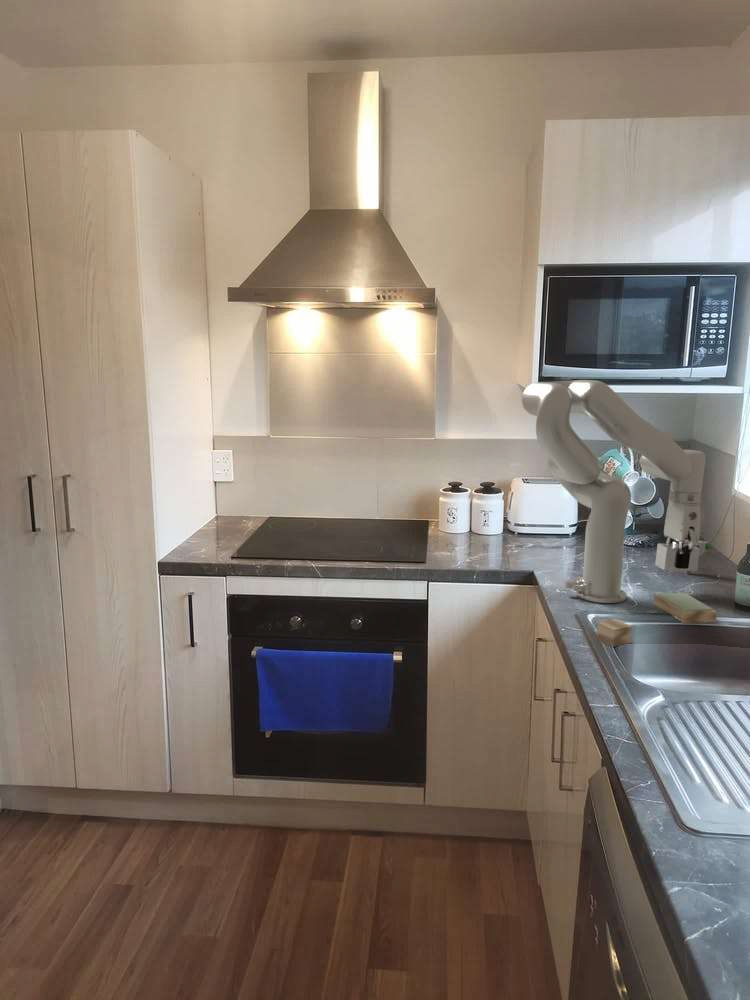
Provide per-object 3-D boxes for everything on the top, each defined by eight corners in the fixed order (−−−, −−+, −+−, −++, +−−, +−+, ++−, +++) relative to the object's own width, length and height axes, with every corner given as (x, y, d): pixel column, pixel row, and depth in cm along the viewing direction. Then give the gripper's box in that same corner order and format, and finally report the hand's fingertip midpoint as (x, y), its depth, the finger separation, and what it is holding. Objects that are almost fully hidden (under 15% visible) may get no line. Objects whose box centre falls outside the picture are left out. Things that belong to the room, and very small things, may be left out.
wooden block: (683, 623, 167) (684, 611, 166) (654, 603, 180) (654, 592, 180) (715, 622, 167) (716, 610, 167) (684, 602, 181) (685, 591, 181)
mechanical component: (671, 569, 211) (674, 536, 210) (707, 575, 205) (711, 542, 203) (667, 571, 209) (670, 538, 207) (704, 578, 203) (708, 543, 201)
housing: (664, 570, 186) (667, 544, 185) (655, 565, 191) (658, 539, 190) (697, 571, 187) (700, 545, 186) (687, 565, 192) (690, 540, 190)
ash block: (612, 647, 152) (613, 629, 152) (596, 639, 157) (597, 622, 156) (630, 643, 154) (631, 626, 154) (613, 635, 159) (615, 618, 158)
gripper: (716, 504, 178) (707, 574, 181) (681, 492, 194) (673, 557, 197) (688, 503, 177) (679, 574, 180) (654, 491, 193) (647, 556, 197)
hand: (676, 564), depth 189 cm, fingers closed on housing, 5 cm apart
